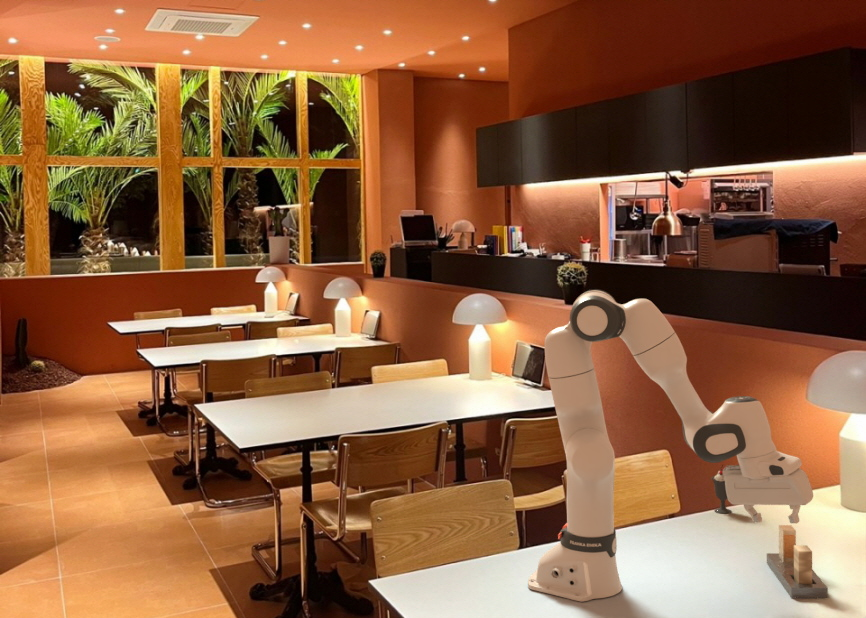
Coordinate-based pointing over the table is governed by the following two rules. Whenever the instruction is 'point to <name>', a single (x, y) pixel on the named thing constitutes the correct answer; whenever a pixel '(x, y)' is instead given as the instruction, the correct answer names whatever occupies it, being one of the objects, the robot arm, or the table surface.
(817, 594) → the gray block holder
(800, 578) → the wooden block
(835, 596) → the table surface
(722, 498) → the sundae
